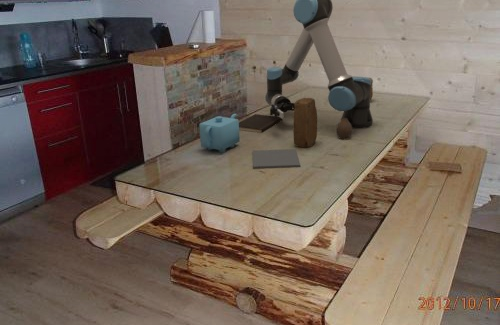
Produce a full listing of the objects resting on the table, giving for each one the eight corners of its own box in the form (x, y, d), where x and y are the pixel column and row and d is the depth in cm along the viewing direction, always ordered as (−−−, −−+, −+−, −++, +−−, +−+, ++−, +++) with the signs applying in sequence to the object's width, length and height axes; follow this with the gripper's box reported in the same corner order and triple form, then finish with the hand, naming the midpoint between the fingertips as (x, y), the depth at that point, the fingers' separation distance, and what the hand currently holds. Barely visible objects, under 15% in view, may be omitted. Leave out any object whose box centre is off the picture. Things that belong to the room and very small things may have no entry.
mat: (295, 150, 188) (295, 148, 187) (300, 166, 171) (300, 164, 171) (252, 152, 188) (252, 150, 188) (253, 168, 171) (253, 166, 171)
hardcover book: (233, 130, 220) (232, 125, 219) (255, 118, 239) (255, 114, 238) (262, 134, 213) (261, 129, 212) (282, 121, 231) (282, 117, 230)
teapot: (218, 156, 185) (215, 124, 180) (197, 152, 191) (194, 120, 186) (247, 141, 202) (246, 111, 197) (227, 137, 208) (225, 108, 203)
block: (306, 149, 189) (306, 102, 182) (291, 146, 193) (291, 100, 186) (319, 142, 197) (320, 97, 190) (304, 139, 201) (305, 95, 194)
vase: (352, 135, 203) (353, 117, 200) (350, 140, 197) (351, 121, 194) (337, 134, 205) (338, 116, 202) (335, 139, 199) (335, 120, 196)
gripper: (305, 108, 223) (322, 119, 204) (257, 113, 217) (270, 125, 198) (305, 93, 220) (323, 103, 201) (256, 98, 214) (270, 108, 195)
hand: (297, 114), depth 200 cm, fingers open, 13 cm apart
